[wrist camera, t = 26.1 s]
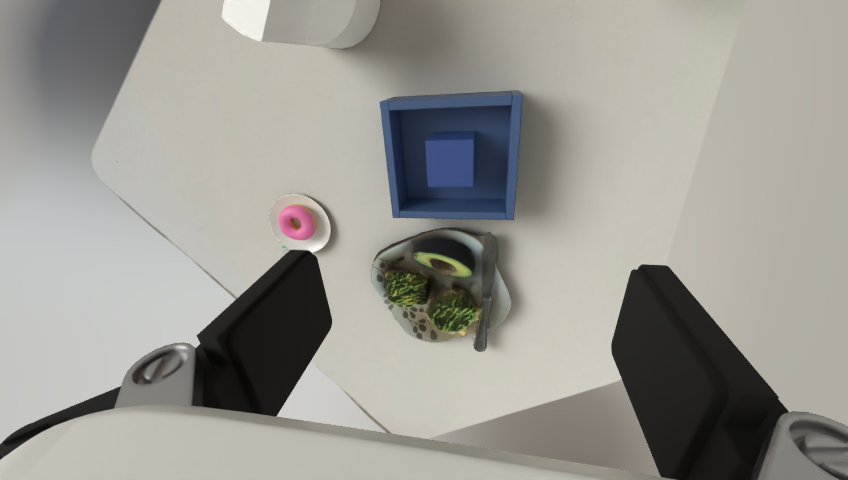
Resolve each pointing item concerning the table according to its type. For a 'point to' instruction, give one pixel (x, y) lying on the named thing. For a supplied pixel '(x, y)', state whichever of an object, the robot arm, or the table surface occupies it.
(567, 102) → the table surface
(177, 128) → the table surface
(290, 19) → the cylinder with rectangular tab
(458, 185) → the blue block
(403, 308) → the salad plate
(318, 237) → the donut
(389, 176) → the blue bin
